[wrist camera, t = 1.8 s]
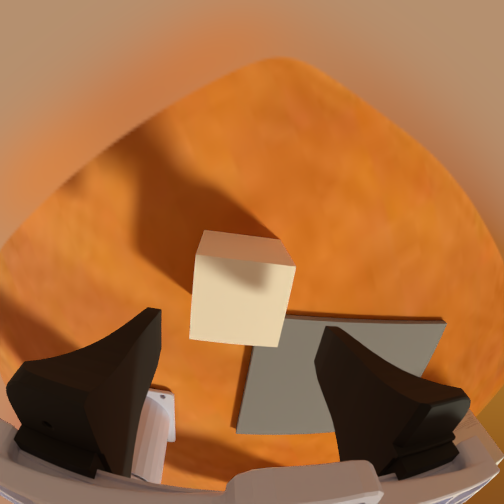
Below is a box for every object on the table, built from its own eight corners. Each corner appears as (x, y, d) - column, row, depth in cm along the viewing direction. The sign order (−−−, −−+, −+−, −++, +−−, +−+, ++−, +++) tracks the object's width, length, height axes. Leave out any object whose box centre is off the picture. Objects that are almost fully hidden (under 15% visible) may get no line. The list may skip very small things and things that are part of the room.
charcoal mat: (235, 429, 25) (236, 433, 24) (259, 312, 21) (260, 316, 20) (389, 420, 27) (391, 423, 27) (443, 320, 23) (447, 323, 22)
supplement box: (405, 444, 30) (438, 508, 18) (425, 412, 28) (468, 482, 16) (443, 430, 31) (477, 485, 19) (463, 397, 28) (506, 456, 16)
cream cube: (197, 298, 20) (189, 338, 16) (204, 229, 19) (195, 254, 14) (267, 305, 21) (277, 347, 16) (280, 239, 19) (296, 266, 15)
